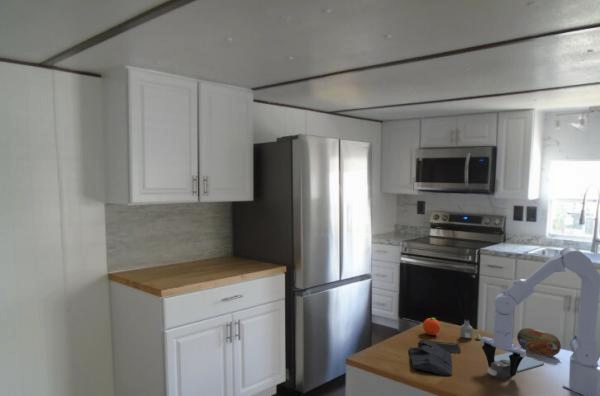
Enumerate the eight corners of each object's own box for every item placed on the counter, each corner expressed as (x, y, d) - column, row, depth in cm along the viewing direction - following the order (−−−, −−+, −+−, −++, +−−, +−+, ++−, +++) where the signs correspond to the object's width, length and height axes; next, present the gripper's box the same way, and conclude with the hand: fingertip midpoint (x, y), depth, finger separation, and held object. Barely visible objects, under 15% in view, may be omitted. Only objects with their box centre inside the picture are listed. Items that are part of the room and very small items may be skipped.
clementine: (428, 330, 186) (429, 313, 186) (443, 334, 181) (444, 317, 181) (419, 334, 180) (420, 317, 180) (435, 338, 176) (435, 321, 175)
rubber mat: (543, 364, 152) (543, 363, 152) (518, 372, 146) (518, 370, 145) (513, 352, 163) (513, 351, 163) (488, 358, 156) (488, 357, 156)
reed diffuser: (456, 339, 175) (457, 291, 175) (452, 333, 182) (454, 287, 182) (482, 341, 174) (484, 292, 173) (478, 335, 181) (479, 288, 180)
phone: (419, 339, 172) (458, 344, 168) (419, 342, 172) (458, 346, 168) (419, 346, 165) (460, 351, 161) (419, 349, 165) (460, 354, 161)
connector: (515, 375, 143) (515, 363, 143) (495, 381, 139) (496, 368, 139) (504, 370, 147) (505, 358, 147) (485, 375, 142) (485, 364, 142)
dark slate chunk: (405, 372, 145) (406, 358, 145) (409, 348, 166) (410, 336, 166) (453, 379, 140) (454, 365, 140) (451, 354, 161) (451, 341, 161)
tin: (516, 347, 168) (517, 325, 168) (520, 345, 170) (521, 324, 170) (557, 360, 156) (558, 337, 156) (561, 358, 158) (562, 335, 158)
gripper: (531, 334, 139) (530, 375, 140) (489, 322, 151) (488, 360, 151) (520, 339, 135) (518, 381, 135) (478, 326, 147) (476, 365, 147)
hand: (501, 370), depth 143 cm, fingers open, 7 cm apart
